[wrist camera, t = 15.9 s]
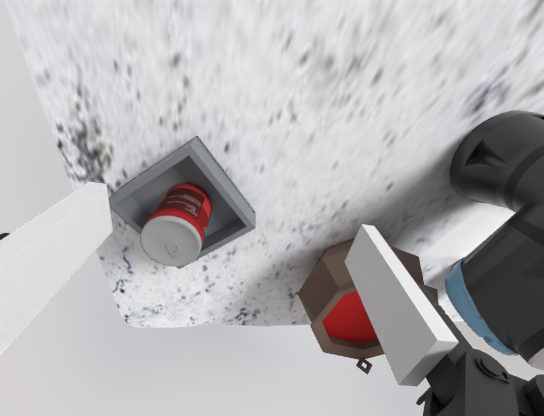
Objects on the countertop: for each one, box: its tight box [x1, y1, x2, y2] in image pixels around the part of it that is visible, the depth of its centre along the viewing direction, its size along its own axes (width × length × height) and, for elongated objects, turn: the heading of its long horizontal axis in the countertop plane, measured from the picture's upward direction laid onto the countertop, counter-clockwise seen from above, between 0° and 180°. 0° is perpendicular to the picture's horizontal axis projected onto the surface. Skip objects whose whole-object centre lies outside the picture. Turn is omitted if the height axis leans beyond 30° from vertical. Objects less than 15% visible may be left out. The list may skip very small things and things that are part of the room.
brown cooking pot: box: [298, 239, 438, 374], centre depth 45 cm, size 24×24×16 cm
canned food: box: [140, 183, 212, 266], centre depth 36 cm, size 8×8×11 cm
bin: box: [108, 136, 255, 269], centre depth 40 cm, size 16×16×5 cm
